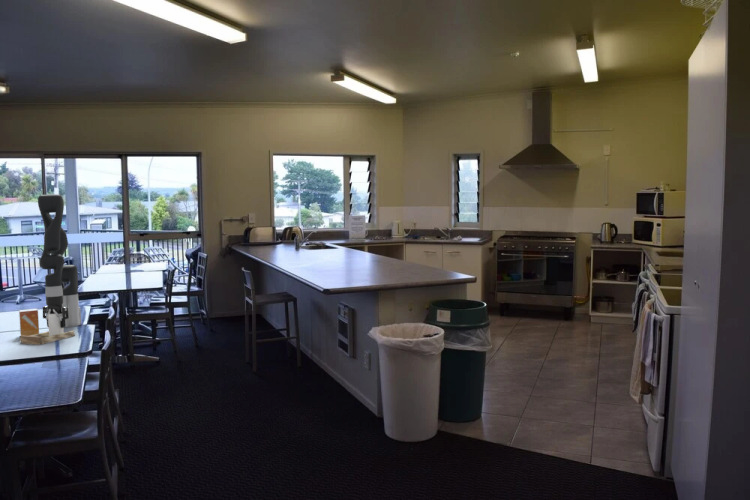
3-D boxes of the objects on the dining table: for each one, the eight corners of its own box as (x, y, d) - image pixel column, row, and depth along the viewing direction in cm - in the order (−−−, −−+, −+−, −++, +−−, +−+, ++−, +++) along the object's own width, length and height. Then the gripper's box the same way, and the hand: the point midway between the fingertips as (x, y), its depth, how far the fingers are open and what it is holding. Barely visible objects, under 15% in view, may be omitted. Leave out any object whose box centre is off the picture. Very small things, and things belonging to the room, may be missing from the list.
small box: (21, 337, 293) (19, 311, 292) (20, 335, 299) (18, 310, 298) (39, 335, 298) (38, 309, 297) (38, 333, 303) (37, 308, 302)
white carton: (49, 338, 288) (47, 314, 287) (49, 336, 294) (47, 312, 293) (63, 336, 291) (62, 312, 290) (64, 334, 297) (62, 311, 296)
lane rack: (55, 334, 299) (55, 327, 299) (74, 335, 295) (74, 328, 295) (20, 343, 280) (20, 336, 280) (40, 344, 276) (39, 337, 276)
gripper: (71, 294, 292) (73, 326, 293) (49, 293, 297) (51, 325, 298) (58, 296, 285) (60, 329, 286) (36, 295, 290) (39, 328, 291)
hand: (56, 327), depth 292 cm, fingers open, 8 cm apart
